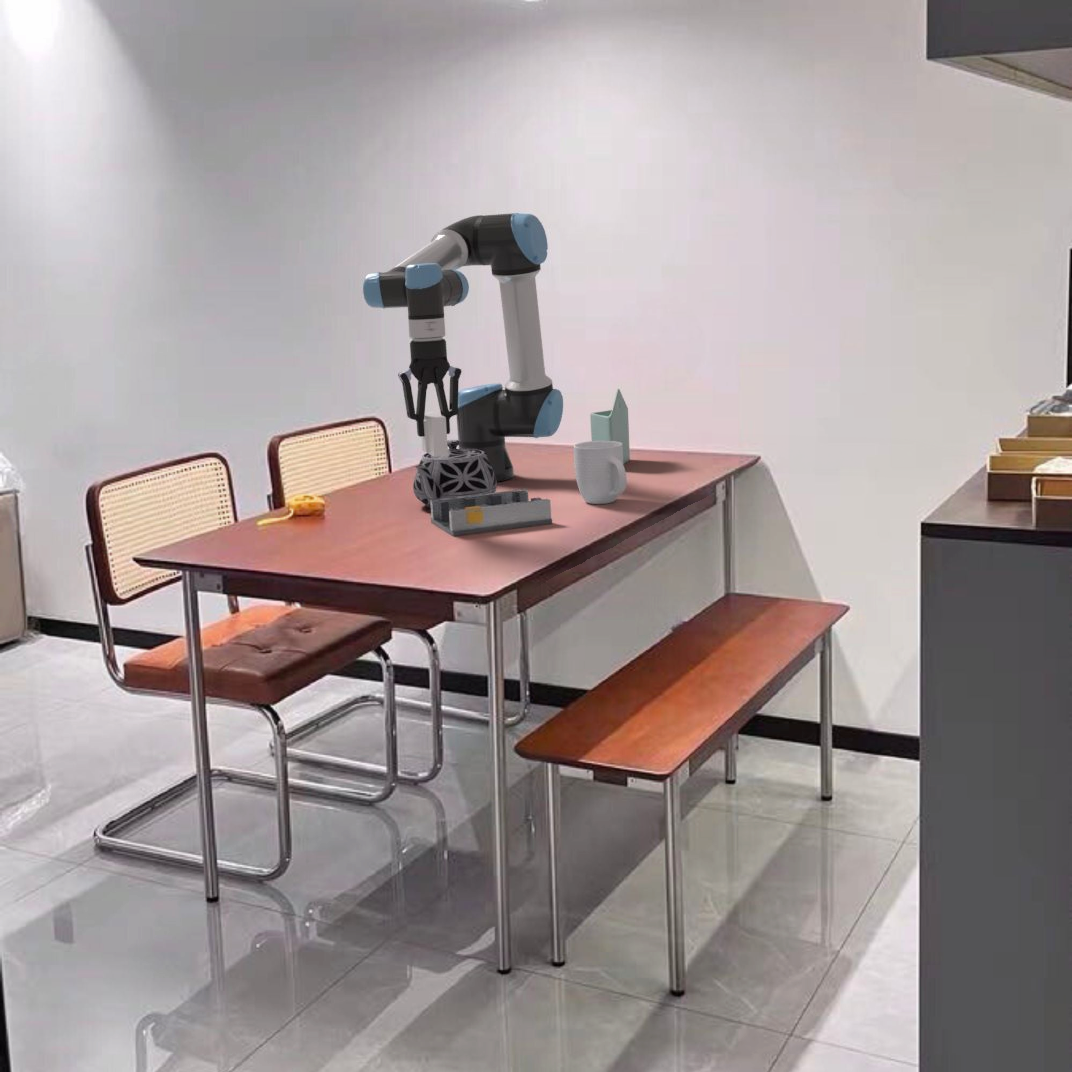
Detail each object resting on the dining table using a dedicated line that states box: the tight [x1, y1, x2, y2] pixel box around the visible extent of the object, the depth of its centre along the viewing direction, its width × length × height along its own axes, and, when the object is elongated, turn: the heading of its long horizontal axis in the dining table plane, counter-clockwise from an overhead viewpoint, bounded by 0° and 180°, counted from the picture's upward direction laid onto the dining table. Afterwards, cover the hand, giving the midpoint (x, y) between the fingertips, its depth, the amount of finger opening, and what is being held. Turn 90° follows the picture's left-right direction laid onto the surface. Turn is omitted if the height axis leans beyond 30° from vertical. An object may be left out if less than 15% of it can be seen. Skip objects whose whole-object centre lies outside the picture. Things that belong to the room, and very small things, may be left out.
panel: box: [420, 411, 449, 457], centre depth 311 cm, size 10×3×8 cm, turn 19°
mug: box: [573, 440, 627, 505], centre depth 330 cm, size 15×11×13 cm
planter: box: [589, 388, 631, 465], centre depth 377 cm, size 16×8×20 cm, turn 162°
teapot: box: [412, 439, 498, 509], centre depth 335 cm, size 19×31×15 cm, turn 153°
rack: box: [430, 488, 553, 537], centre depth 315 cm, size 16×22×5 cm
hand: (434, 450), depth 311 cm, fingers closed on panel, 3 cm apart
